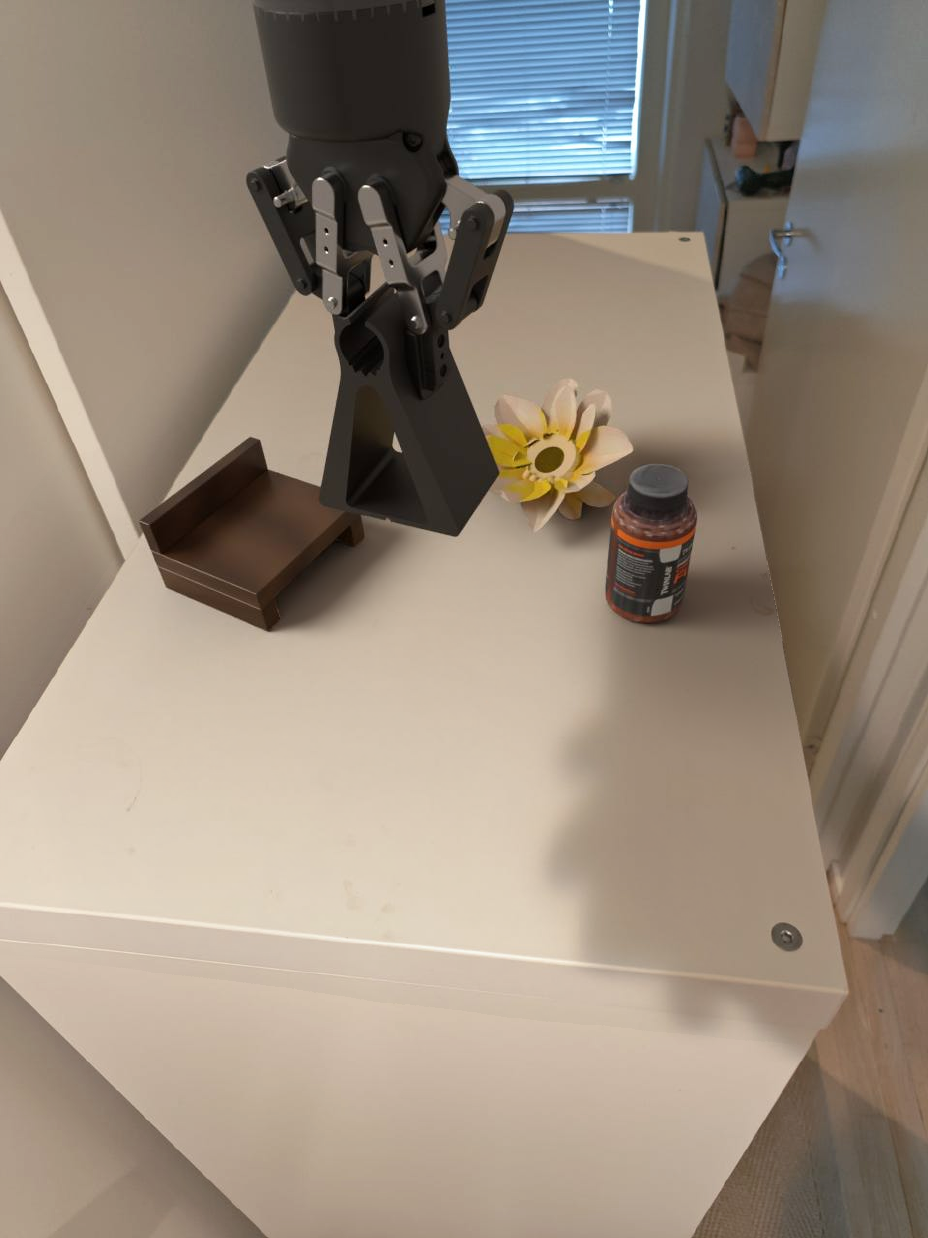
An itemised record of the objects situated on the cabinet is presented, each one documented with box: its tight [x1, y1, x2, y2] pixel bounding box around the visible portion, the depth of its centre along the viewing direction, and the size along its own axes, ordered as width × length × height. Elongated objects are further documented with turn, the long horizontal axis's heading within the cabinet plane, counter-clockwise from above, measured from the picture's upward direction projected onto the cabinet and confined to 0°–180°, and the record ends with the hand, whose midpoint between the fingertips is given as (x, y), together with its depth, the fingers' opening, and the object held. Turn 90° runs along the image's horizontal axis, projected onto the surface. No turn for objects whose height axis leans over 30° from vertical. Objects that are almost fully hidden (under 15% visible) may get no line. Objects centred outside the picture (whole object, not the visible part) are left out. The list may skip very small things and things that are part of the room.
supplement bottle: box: [604, 463, 698, 624], centre depth 62 cm, size 6×6×11 cm
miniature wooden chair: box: [138, 436, 366, 632], centre depth 69 cm, size 13×11×7 cm
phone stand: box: [319, 281, 500, 538], centre depth 46 cm, size 9×6×12 cm, turn 66°
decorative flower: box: [481, 377, 634, 533], centre depth 73 cm, size 15×11×10 cm
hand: (396, 381), depth 45 cm, fingers closed on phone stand, 3 cm apart
